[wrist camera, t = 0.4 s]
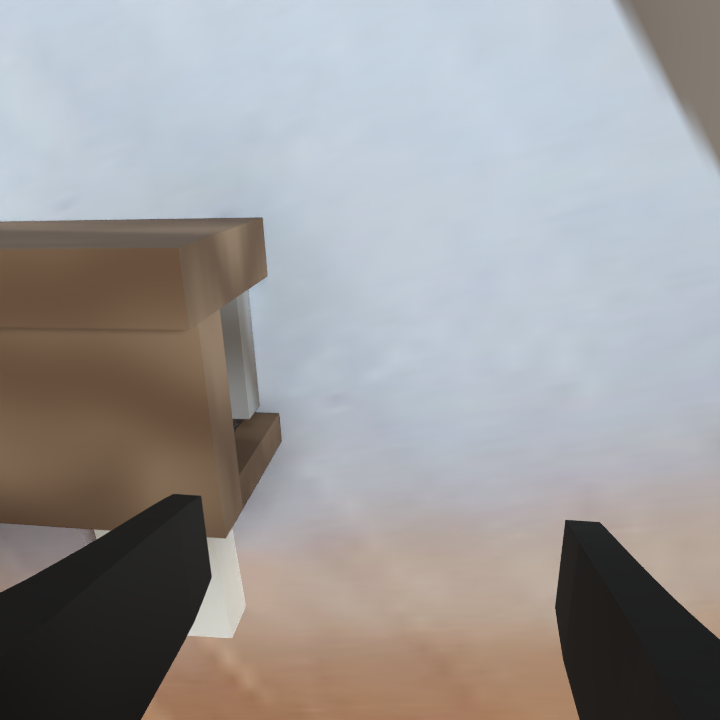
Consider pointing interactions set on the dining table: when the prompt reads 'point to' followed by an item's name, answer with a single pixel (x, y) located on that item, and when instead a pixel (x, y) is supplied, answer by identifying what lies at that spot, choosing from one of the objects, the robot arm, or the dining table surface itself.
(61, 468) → the shelf
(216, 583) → the tile
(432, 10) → the dining table surface
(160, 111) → the dining table surface
